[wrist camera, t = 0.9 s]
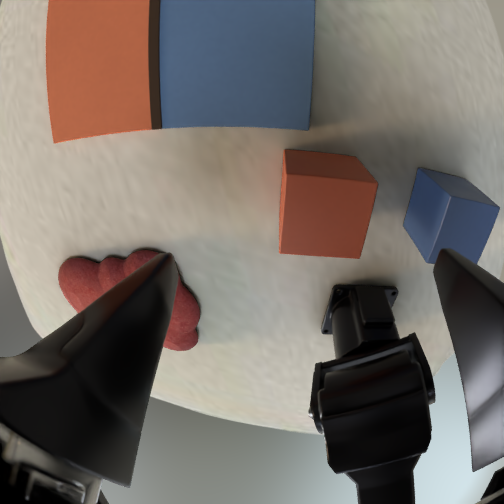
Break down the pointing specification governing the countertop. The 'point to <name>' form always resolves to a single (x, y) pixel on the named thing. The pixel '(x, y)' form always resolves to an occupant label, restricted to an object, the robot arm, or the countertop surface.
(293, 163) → the terracotta block
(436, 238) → the slate-blue block
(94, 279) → the red lumpy blob
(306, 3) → the sorting mat
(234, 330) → the countertop surface
